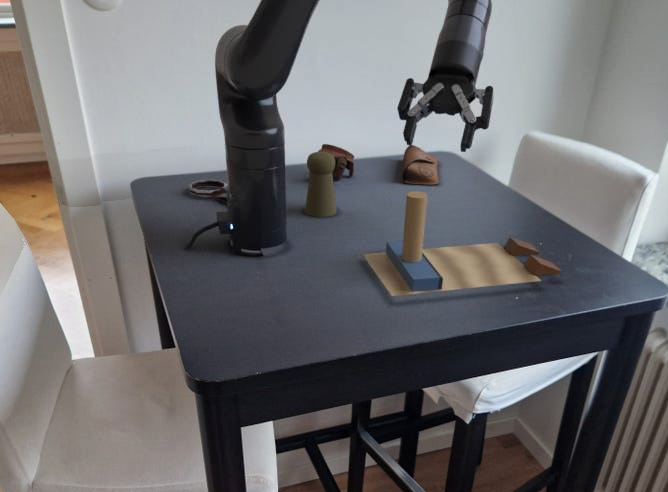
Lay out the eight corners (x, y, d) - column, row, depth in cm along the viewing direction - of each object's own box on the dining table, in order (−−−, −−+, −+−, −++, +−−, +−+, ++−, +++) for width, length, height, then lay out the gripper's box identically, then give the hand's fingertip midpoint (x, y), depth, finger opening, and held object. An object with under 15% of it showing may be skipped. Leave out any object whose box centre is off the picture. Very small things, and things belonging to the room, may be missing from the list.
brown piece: (299, 177, 147) (312, 141, 146) (336, 193, 151) (349, 158, 150) (320, 179, 136) (334, 140, 135) (359, 196, 141) (372, 158, 140)
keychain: (252, 215, 126) (252, 205, 124) (180, 193, 135) (179, 183, 133) (279, 204, 131) (279, 194, 130) (208, 184, 140) (208, 174, 139)
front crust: (533, 274, 104) (540, 263, 103) (523, 265, 107) (530, 254, 106) (555, 282, 106) (562, 271, 105) (545, 273, 108) (551, 262, 108)
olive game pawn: (332, 218, 126) (333, 159, 120) (301, 215, 127) (300, 156, 121) (339, 207, 131) (341, 150, 125) (309, 204, 132) (309, 147, 126)
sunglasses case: (441, 183, 144) (428, 155, 141) (411, 198, 146) (397, 171, 143) (439, 159, 159) (427, 134, 156) (412, 173, 161) (400, 148, 158)
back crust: (512, 255, 110) (518, 244, 109) (503, 247, 113) (509, 236, 112) (534, 262, 112) (539, 251, 111) (524, 254, 115) (530, 243, 114)
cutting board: (391, 305, 97) (391, 295, 97) (361, 262, 110) (361, 254, 109) (539, 289, 103) (541, 280, 103) (496, 250, 115) (497, 242, 115)
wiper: (411, 291, 98) (419, 212, 91) (385, 253, 109) (390, 180, 103) (442, 289, 99) (451, 210, 92) (412, 251, 110) (419, 178, 104)
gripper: (411, 34, 105) (387, 127, 102) (503, 41, 102) (481, 137, 98) (417, 66, 112) (394, 153, 109) (503, 74, 109) (482, 164, 106)
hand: (435, 145), depth 104 cm, fingers open, 8 cm apart
